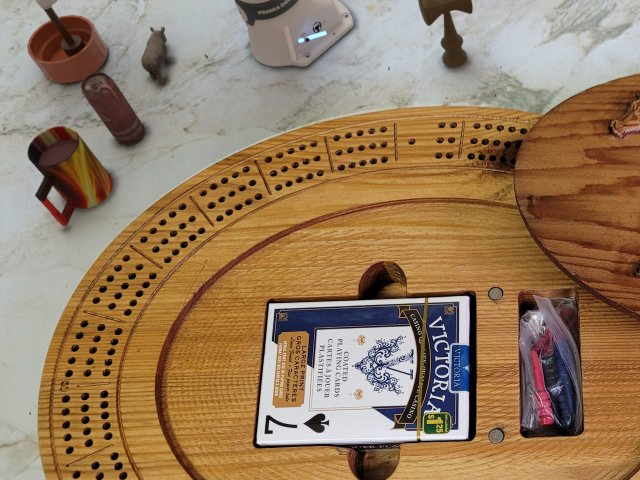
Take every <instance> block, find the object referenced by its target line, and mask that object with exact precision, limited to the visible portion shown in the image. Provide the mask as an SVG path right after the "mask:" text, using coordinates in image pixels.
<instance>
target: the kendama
mask: <svg viewBox="0 0 640 480" xmlns="http://www.w3.org/2000/svg"><path fill="white" fill-rule="evenodd" d="M417 2H418V7H419V11H420V13H421V16H422V17H421V18H422V19H423V21H424V24H425V25H426V26H428V27H431V26H432V25H433V24H434V23H435V22H436V21H437V20H438V19H439V18H440V17H441V16H443V37H442V38H441V40H440V43H439V44H440V46H441V47H442V49H443V50H444V52H443V54H442V57H441V60H442V63H443V64H444V65H445V66H446V67H448V68H457V67H461V66H463V65H464V64H465V63H466V62H467V61H468V54H467V52H466V51H465V50H464V49H463V47H462V46H463V44H464V38H463V36H462V35H461V34H459V33H458V32H457V28H456V26H455V23H454V20H453V17H452V13H451V12H453V11H458V12H462V13H465V14H468V15H472V14H473V10H474V6H473V5H474V4H473V1H472V0H417Z"/></svg>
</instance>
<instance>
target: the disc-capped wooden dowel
mask: <svg viewBox="0 0 640 480" xmlns="http://www.w3.org/2000/svg"><path fill="white" fill-rule="evenodd" d="M43 11H44V13H45V14H46V16H47V18H48V19H49V21H50V20H51V21H52V22H53V24H54V25H55V27H56V28H57V30H58V31H59V33H60V34H61V35H62V37H63V38H64V39H63V40H62V42H61V47H62V49H63V50H64V52H65V53H66V55H67V56H68V57H69V58H70V57H72V56H74V55H75V54H77V53H79V52H80V51H81V50H82V49H83V48H84V47H86V45H85V44H84V42H83V41H82V39H81V38H80V37H79V36H78V35H70V33H69V32H68V30H67V29H66V27H65V26H64V25H63V23H62V22H61V20H60V19H59V17H60V16H58V14H57V13H56V12H55V10H54V8H53V6H52V7H50V8H48V9H43Z"/></svg>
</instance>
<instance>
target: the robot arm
mask: <svg viewBox="0 0 640 480" xmlns="http://www.w3.org/2000/svg"><path fill="white" fill-rule="evenodd" d="M34 2H35V3H36V4H37V5H38V6H39V7H40V9H42V10H44V9H48V8H50V7H52V8H53V5H54V4H56V3H57V2H58V0H34ZM234 3H235V4H234V5H235V6H236V8H237V11H238V13H239V15H240V17H241V19H242V20H243V21H244V23H245V26H246V27H245V29H246V31H247V33H248V38H249V44H250V45H249V46H250V52H251V55H252V57H253V58H254V59H255V60H256V61H257V62H258V63H260V64H263V65H265V66H268V67H277V68H278V67H288V66H294V67H302V68H305V67H309V65H311V64H312V63H313V62H314V61H315V60H317V59H318V58H319V57H320V56H321V55H322V54H324V53H325V52H326V51H327V50H328V49H330V48H331V47H332V46H333V45H335V43H337V42H338V41H339V40H340V39H341V38H343V37H344V35H346V34H347V33H348V32H349V31H350V30H351V29H352V28H354V24H355V23H354V19H353V16H352V14H351V12H350V11H349V9H348V8H347V7H346V6H345V4H343V3H342V2H341V1H340V0H234Z"/></svg>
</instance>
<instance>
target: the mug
mask: <svg viewBox="0 0 640 480" xmlns="http://www.w3.org/2000/svg"><path fill="white" fill-rule="evenodd" d="M27 158H28V160H29V161H30V163H32V164H33V165H34V167H35V168H36V169H37V170H38V171H39V172H40V174H41V175H42V176H43V178H42V181H41V183H40V185H39V187H38V188H37V190H36V192H35V194H34V196H35V198H36V199H37V200H38V201H39V202H40V203H41V204H42V205H43V207H45V208H46V209H47V211H48V212H49V213H50V215H52V217H53V218H54V219H55V220H56V221H57V222H58V224H60V225H61V226H62V227H68V224H69V223H70V220H71V218H72V216H73V214H74V212H75V210H76V209H79V210H80V209H81V210H85V209H91V208H93V207H96V206H98V205H99V204H101V203H103V202H104V201H105V200H106V199H107V198H108V197H109V196H110V195H111V193H112V191H113V188H114V180H113V177H112V176H111V174H110V173H109V172H108V170H107V169H106V168H105V166H104V165H103V164H102V162H101V161H100V160H99V158H98V157H97V156H96V155H95V153H94V152H93V151H92V149H91V148H90V147H89V146H88V145H87V143H86V142H85V141H84V140H83V138H82V137H81V135H80V134H79V133H78V132H77V131H76V130H75V129H74V128H72V127H70V126H64V125H59V126H58V125H57V126H53V127H49V128H47V129H45V130H43V131H41V132H40V133H38V134H37V135H36V136H35V137H34V138H33V139H32V140H31V142H30V143H29V145H28V147H27ZM52 188H53V189H54V190H55V191H56V192H57V193H58V195H60V196H61V197H62V199H63V200H64V201H65V205H64V207H63V209H62V211H60V210H58V208H57V207H56V206H55V205H54V204H53V203H52V202H51V201H50V200H49V198H48V196H49V194H50V192H51V190H52Z"/></svg>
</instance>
